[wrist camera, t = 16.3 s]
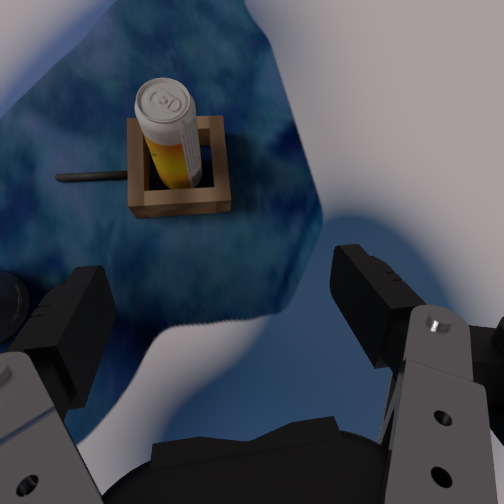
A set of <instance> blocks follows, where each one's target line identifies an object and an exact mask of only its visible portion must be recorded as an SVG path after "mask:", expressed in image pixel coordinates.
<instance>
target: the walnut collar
mask: <svg viewBox="0 0 504 504" xmlns="http://www.w3.org/2000/svg"><path fill="white" fill-rule="evenodd" d="M196 118H197V127H198V136H199V145H200V146H204V145H210V146H211V158H212V169H213V181H214V187H209V188H191V189H173V190H155V191H150V160H149V148H148V145H147V142H146V140H145V137H144V134H143V132H142V129H141V127H140V124H139V121H138V119H137V118H127V156H128V171H112V172H91V173H70V174H57V175H56V176H55V179H56V180H57V181H80V180H99V179H119V178H128V207H129V209H130V210H131V211H132V213H133V214H134V216H135V217H136V218H147V217H162V216H178V215H193V214H208V213H223V212H230V210H231V193H230V183H229V173H228V163H227V153H226V144H225V134H224V124H223V116H196Z"/></svg>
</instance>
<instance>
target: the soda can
mask: <svg viewBox="0 0 504 504" xmlns="http://www.w3.org/2000/svg"><path fill="white" fill-rule="evenodd" d="M135 113H136V116H137V119H138V121H139V124H140V127H141V129H142V132H143V134H144V137H145V140H146V142H147V145H148V148H149V150H150V153H151V155H152V158H153V161H154V163H155V166H156V169H157V171H158V174H159V176H160V179H161V181H162V182H163V184H164V185H165V186H166V187H168V188H169V189H171V190H173V189H191V188H194V187H195V186H196V185H197V184H198V183H199V182H200V180H201V178H202V163H201V154H200V145H199V136H198V127H197V118H196V109H195V103H194V100H193V98H192V96H191V95H190V94H189V92H188V90H187V89H186V88H185V87H184V86H183V85H182V84H181V83H180V82H178V81H176V80H173V79H170V78H156V79H153V80H150V81H148V82H146V83H145V84H144V85H143V86H142V87H141V88H140V89H139V91H138V93H137V96H136V103H135Z"/></svg>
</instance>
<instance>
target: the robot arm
mask: <svg viewBox="0 0 504 504" xmlns="http://www.w3.org/2000/svg"><path fill="white" fill-rule="evenodd" d="M330 291H331V295H332V297H333V299H334V301H335V303H336V304H337V306H338V308H339V309H340V311H341V313H342V314H343V316H344V318H345V319H346V321H347V323H348V324H349V326H350V328H351V329H352V331H353V333H354V335H355V336H356V338H357V339H358V341H359V343H360V345H361V346H362V348H363V350H364V351H365V353H366V355H367V356H368V358H369V360H370V361H371V363H372V365H373V366H374V368H375V369H376V368H382V367H383V368H384V367H390V369H391V370H392V376H391V379H390V384H389V389H388V394H387V399H386V404H385V409H384V414H383V419H382V424H381V429H380V434H379V437H378V441H377V442H374V441H372V440H370V439H368V438H366V437H363V436H361V435H357V434H354V433H350V432H346V431H340V430H339V428H338V426H337V423H336V421H335V418H334V416H330V417H324V418H317V419H311V420H304V421H298V422H292V423H289V424H287V425H285V426H283V427H280V428H278V429H276V430H274V431H271V432H270V433H267V434H265V435H263V436H260V437H258V438H256V439H254V440H251V441H235V440H226V439H217V438H207V437H194V438H188V439H181V440H175V441H168V442H162V443H155V444H153V446H152V454H151V460H150V461H148V462H146V463H144V464H142V465H140V466H139V467H137V468H135V469H133V470H132V471H130V472H129V473H127V474H126V475H125V476H123V477H122V478H121V479H119V480H118V481H117V482H116V483H115V484H114V485H113V486H111V487H110V488H109V489H108V490H107V491H106V492H105V493H104V494H103V495H101V493H100V491H99V489H98V487H97V485H96V484H95V481H94V480H93V478H92V476H91V474H90V472H89V470H88V468H87V466H86V464H85V462H84V460H83V458H82V456H81V454H80V453H79V450H78V448H77V446H76V444H75V443H74V441H73V439H72V437H71V435H70V433H69V431H68V429H67V427H66V425H65V423H64V419H65V416H66V414H67V411H68V410H69V409H77V408H84V407H85V405H86V402H87V399H88V396H89V393H90V390H91V387H92V384H93V382H94V379H95V376H96V373H97V370H98V367H99V364H100V361H101V358H102V355H103V352H104V349H105V346H106V344H107V341H108V338H109V335H110V332H111V329H112V326H113V323H114V320H115V303H114V300H113V296H112V293H111V290H110V286H109V283H108V280H107V276H106V273H105V270H104V268H103V267H102V266H101V265H99V266H87V267H77V268H75V269H74V270H73V272H72V274H71V275H70V277H69V278H68V280H67V281H66V283H65V284H59V285H58V286H56V287H55V288H54V289H52V290H51V291H50V292H48V293H47V294H46V295H45V296H44V298H43V299H42V301H41V302H40V303H39V305H38V308H37V309H35V311H34V312H33V314H32V315H31V318H30V319H28V321H27V322H26V324H25V325H24V327H23V328H22V329H21V331H20V332H19V334H18V335H17V337H16V338H15V340H14V341H13V342H12V344H11V345H10V347H9V348H8V350H7V351H6V353H3V354H0V504H498V501H497V492H496V483H495V473H494V464H493V454H492V445H491V435H490V429H491V430H492V431H493V433H494V434H495V435H496V437H497V438H498V439H499V441H500V442H501V443H502V445H503V446H504V317H502V319H501V320H500V322H499V324H498V326H497V328H488V327H479V326H471V325H468V324H467V323H466V321H465V320H464V319H463V318H462V317H460V316H459V315H458V314H456V313H455V312H453V311H451V310H448V309H446V308H443V307H440V306H435V305H427V304H426V303H425V302H424V301H423V300H422V299H421V298H420V297H419V296H418V295H417V294H416V293H415V292H414V291H413V290H412V289H411V288H410V287H409V286H408V285H407V284H406V283H405V282H404V281H402V279H401V278H400V277H399V276H398V275H397V274H396V273H395V272H394V271H393V270H392V269H391V267H390V266H388V265H387V263H385V262H383V261H382V260H380V259H378V258H376V257H374V256H369V255H368V254H367V253H366V252H365V251H364V249H363V248H362V247H361V246H360V245H359V244H349V245H338V246H336V247H335V249H334V255H333V261H332V268H331V276H330ZM29 304H30V303H29V294H28V290H27V288H26V286H25V285H24V283H23V282H22V281H21V280H20V279H19V278H18V277H16V276H14V275H13V274H10V273H7V272H4V271H1V270H0V342H2V341H4V340H6V339H8V338H9V337H10V336H12V335H13V334H14V333H15V332H16V331H17V330H18V329H19V328H20V327H21V325H22V323H23V322H24V320H25V318H26V316H27V313H28V310H29Z"/></svg>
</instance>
